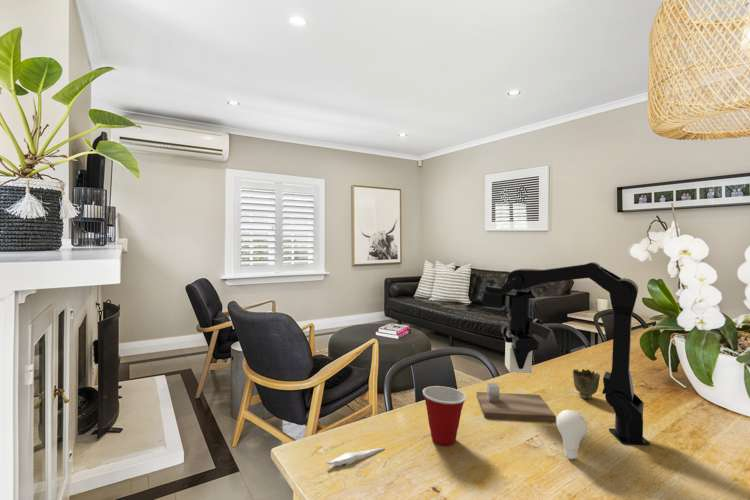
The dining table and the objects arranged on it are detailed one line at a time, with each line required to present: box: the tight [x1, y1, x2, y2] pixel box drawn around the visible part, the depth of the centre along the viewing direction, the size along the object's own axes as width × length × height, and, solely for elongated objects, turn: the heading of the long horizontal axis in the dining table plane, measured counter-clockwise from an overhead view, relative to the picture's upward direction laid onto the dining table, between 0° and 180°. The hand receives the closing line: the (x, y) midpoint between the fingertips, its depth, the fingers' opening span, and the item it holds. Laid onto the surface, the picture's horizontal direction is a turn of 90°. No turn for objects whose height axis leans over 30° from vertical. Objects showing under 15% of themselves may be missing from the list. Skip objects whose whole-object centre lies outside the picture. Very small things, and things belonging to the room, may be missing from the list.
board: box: [476, 391, 557, 422], centre depth 111 cm, size 14×19×2 cm
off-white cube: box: [504, 341, 533, 374], centre depth 110 cm, size 6×6×7 cm
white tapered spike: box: [326, 447, 385, 469], centre depth 85 cm, size 15×3×2 cm, turn 121°
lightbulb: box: [555, 409, 588, 460], centre depth 85 cm, size 6×6×11 cm
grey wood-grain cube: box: [486, 382, 500, 402], centre depth 113 cm, size 3×3×4 cm
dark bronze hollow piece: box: [572, 368, 601, 400], centre depth 118 cm, size 8×7×8 cm
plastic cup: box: [422, 385, 468, 447], centre depth 93 cm, size 11×11×12 cm
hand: (517, 364), depth 110 cm, fingers closed on off-white cube, 6 cm apart
